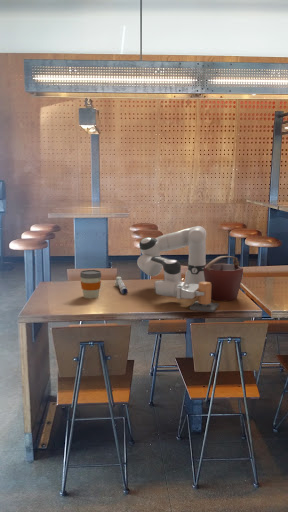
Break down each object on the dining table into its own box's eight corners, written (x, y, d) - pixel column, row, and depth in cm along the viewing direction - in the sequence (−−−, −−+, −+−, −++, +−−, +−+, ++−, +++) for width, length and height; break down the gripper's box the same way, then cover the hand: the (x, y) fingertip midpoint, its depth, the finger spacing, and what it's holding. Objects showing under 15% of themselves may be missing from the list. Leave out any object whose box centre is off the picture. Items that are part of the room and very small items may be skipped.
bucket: (232, 292, 282) (233, 252, 278) (250, 301, 261) (252, 258, 257) (196, 294, 274) (197, 254, 270) (212, 304, 254) (214, 260, 250)
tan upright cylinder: (200, 300, 250) (200, 281, 249) (211, 301, 248) (212, 282, 246) (197, 303, 244) (197, 283, 243) (208, 304, 242) (209, 284, 240)
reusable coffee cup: (98, 299, 263) (97, 274, 260) (77, 298, 265) (77, 273, 263) (104, 294, 275) (103, 270, 272) (84, 293, 277) (84, 269, 275)
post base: (196, 303, 255) (196, 289, 254) (218, 306, 250) (219, 292, 249) (189, 309, 243) (190, 295, 242) (213, 312, 238) (213, 297, 237)
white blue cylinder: (120, 288, 274) (114, 274, 298) (120, 298, 276) (114, 284, 300) (128, 288, 276) (122, 274, 299) (128, 298, 278) (121, 283, 301)
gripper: (187, 291, 260) (210, 293, 255) (176, 299, 241) (201, 302, 236) (187, 280, 259) (211, 282, 254) (176, 288, 240) (201, 290, 235)
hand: (206, 292), depth 245 cm, fingers closed on tan upright cylinder, 6 cm apart
